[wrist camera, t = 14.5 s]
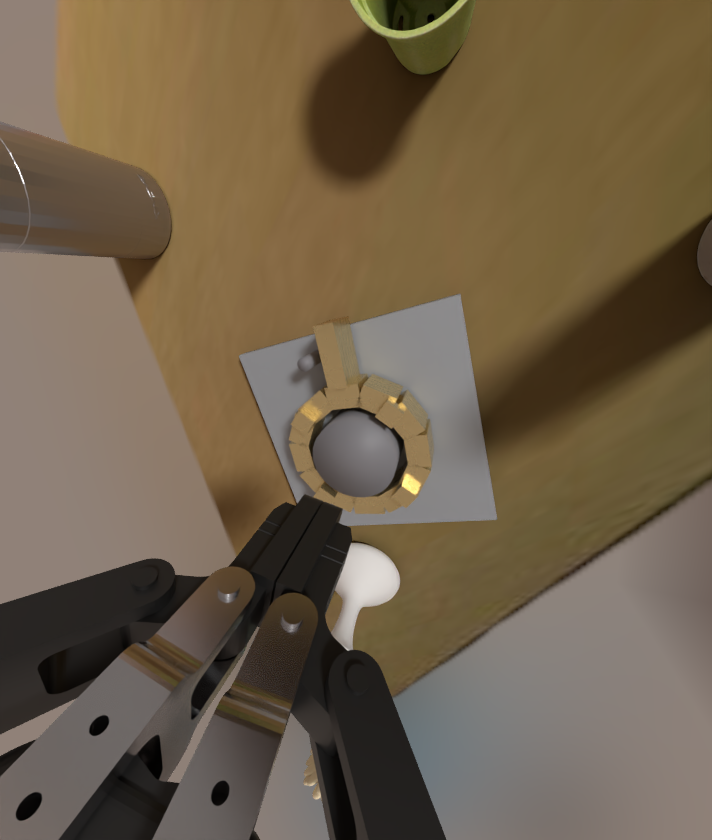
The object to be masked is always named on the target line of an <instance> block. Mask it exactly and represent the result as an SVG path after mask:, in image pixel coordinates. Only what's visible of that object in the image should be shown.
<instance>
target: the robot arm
mask: <svg viewBox="0 0 712 840" xmlns="http://www.w3.org/2000/svg"><path fill="white" fill-rule="evenodd" d="M170 233H171V217H170V211H169V207H168V204H167V201H166V198H165V196H164V194H163V192H162V190H161V189H160V187H159V186H158V184H157V183H156V181H155V180H154V179H153V178H152V177H151V176H150V175H149V174H148V173H146V172H145V171H143V170H142V169H140V168H137V167H135V166H132V165H129V164H126V163H123V162H120V161H117V160H114V159H111V158H108V157H105V156H102V155H99V154H96V153H93V152H90V151H87V150H84V149H81V148H78V147H75V146H72V145H69V144H66V143H63V142H60V141H57V140H54V139H51V138H48V137H45V136H42V135H39V134H36V133H33V132H30V131H27V130H24V129H21V128H18V127H15V126H12V125H9V124H6V123H3V122H0V252H16V253H38V254H58V255H78V256H98V257H116V258H136V259H151V258H154V257H157V256H159V255H160V254H161V253H162V252H163V251H164V249H165V248H166V246H167V244H168V241H169V239H170ZM342 511H343V508H340V507H337V506H335V505H332V504H330V503H327V502H323V501H322V500H319V499H317V498H314V497H312V496H309V495H306V494H304V495H303V496H302V498H301V499H300V501H299V502H298V503H297V505H296V506H294V505H292V504H289V503H287V502H286V503H284V504H282V505H280V506H279V507H277V508H275V509H274V510H273V511H272V512H271V514H270V515H269V516H268V517H267V519H266V521H265V522H263V524H262V525H261V526H260V528H259V530H257V531H256V533H255V534H254V535H253V537H252V538H251V539H250V540H249V542H248V543H247V544H246V546H245V547H244V548H243V549H242V551H241V552H240V553H239V555H238V556H237V557H236V558H235V560H234V561H233V562H232V563H231V564H230V566H228V567H225V568H222V569H219V570H217V571H215V572H214V573H213V574H211V575H210V576H207V577H194V576H182V575H175V571H174V569H173V567H172V565H171V564H170V563H169V562H167V561H165V560H162V559H146V560H142V561H139V562H135V563H132V564H129V565H126V566H122V567H119V568H116V569H113V570H109V571H106V572H103V573H100V574H96V575H94V576H90V577H87V578H84V579H81V580H77V581H74V582H71V583H67V584H64V585H61V586H58V587H54V588H51V589H48V590H45V591H42V592H38V593H35V594H32V595H29V596H25V597H23V598H19V599H16V600H13V601H10V602H6V603H3V604H0V734H2V733H4V732H6V731H8V730H10V729H12V728H15V727H16V726H19V725H21V724H23V723H25V722H27V721H29V720H31V719H34V718H35V717H37V716H40V715H42V714H44V713H46V712H48V711H50V710H53V709H55V708H57V707H59V706H61V705H63V704H65V703H67V702H69V701H71V700H74V699H76V698H77V699H76V700H75V701H74V702H73V703H72V704H71V705H70V706H69V707H68V708H67V709H66V710H65V711H64V712H63V713H62V714H61V715H60V716H59V717H58V718H57V719H56V720H55V721H54V722H53V723H52V725H50V726H49V728H48V729H47V730H46V731H45V732H44V733H43V734H42V735H41V736H40V737H39V738H38V739H36V740H33V741H31V742H29V743H26V744H24V745H21V746H19V747H17V748H15V749H13V750H11V751H9V752H7V753H5V754H3V755H1V756H0V840H260V839H259V837H258V835H257V834H256V832H255V831H254V827H255V825H256V821H257V818H258V815H259V812H260V808H261V805H262V802H263V799H264V795H265V793H266V789H267V786H268V783H269V779H270V776H271V773H272V770H273V767H274V763H275V760H276V757H277V754H278V751H279V747H280V744H281V741H282V738H283V735H284V732H285V728H286V725H287V722H288V718H289V716H290V712H291V713H292V714H293V715H294V716H295V718H296V719H297V720H298V721H299V722H300V724H301V725H302V726H303V727H304V728H305V730H306V731H307V732H308V733H309V736H310V742H311V748H312V753H313V758H314V763H315V768H316V773H317V778H318V783H319V788H320V793H321V798H322V803H323V808H324V813H325V818H326V823H327V828H328V833H329V838H330V840H446V837H445V835H444V832H443V830H442V827H441V824H440V822H439V819H438V817H437V814H436V812H435V809H434V806H433V804H432V801H431V798H430V796H429V793H428V791H427V788H426V785H425V783H424V780H423V778H422V775H421V772H420V770H419V767H418V764H417V762H416V759H415V757H414V754H413V751H412V749H411V746H410V744H409V741H408V738H407V736H406V733H405V730H404V728H403V725H402V723H401V720H400V718H399V715H398V712H397V710H396V707H395V704H394V702H393V699H392V696H391V694H390V691H389V689H388V686H387V683H386V681H385V678H384V676H383V673H382V671H381V669H380V667H379V665H378V664H377V662H376V661H375V660H374V659H373V658H372V657H371V656H370V655H368V654H367V653H365V652H362V651H359V650H349V651H347V650H346V649H345V648H344V647H343V646H342V645H341V644H340V643H339V642H338V641H337V640H336V639H335V638H334V637H333V635H332V634H331V632H330V631H329V629H328V627H327V623H326V619H325V614H326V611H327V609H328V606H329V604H330V601H331V598H332V596H333V593H334V591H335V588H336V586H337V583H338V580H339V578H340V575H341V573H342V570H343V567H344V564H345V561H346V558H347V555H348V552H349V548H350V545H351V542H352V536H351V528H350V527H347V526H345V525H342V524H340V523H339V522H340V518H341V515H342ZM257 626H258V627H260V628H259V630H258V632H257V634H256V636H255V638H254V641H253V642H252V645H251V647H250V649H249V651H248V653H247V655H246V657H245V659H244V661H243V664H242V666H241V668H240V670H239V672H238V674H237V676H236V678H235V680H234V683H233V684H232V686H231V688H230V689H229V691H227V692H226V693H225V694H224V695H223V697H222V699H221V700H220V702H219V704H218V706H217V708H216V710H215V712H214V714H213V716H212V718H211V720H210V722H209V724H208V726H207V728H206V730H205V732H204V734H203V736H202V738H201V740H200V743H199V744H198V746H197V749H196V751H195V753H194V755H193V757H192V759H191V761H190V763H189V765H188V767H187V769H186V771H185V773H184V775H183V777H182V779H181V782H180V783H174V782H167V781H168V779H169V777H170V776H171V774H172V773H173V771H174V770H175V768H176V766H177V765H178V763H179V762H180V760H181V758H182V757H183V755H184V753H185V751H186V749H187V747H188V745H189V743H190V740H191V738H192V735H193V733H194V731H195V729H196V727H197V725H198V723H199V722H200V720H201V718H202V716H203V715H204V714H205V712H206V710H207V709H208V707H209V706H210V705H211V703H212V701H213V700H214V698H215V697H216V695H217V694H218V692H219V691H220V689H221V688H222V686H223V685H224V683H225V681H226V680H227V678H228V677H229V675H230V674H231V672H232V671H233V669H234V668H235V666H236V664H237V663H238V661H239V660H240V658H241V657H242V655H243V654H244V651H245V649H246V647H247V643H248V642H249V640H250V638H251V636H252V635H253V633H254V631H255V629H256V627H257Z"/></svg>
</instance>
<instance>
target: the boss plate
mask: <svg viewBox="0 0 712 840" xmlns="http://www.w3.org/2000/svg"><path fill="white" fill-rule="evenodd" d="M350 327H351V332H352V337H353V342H354V347H355V351H356V356H357V361H358V366H359V371H360V374H366V373H367V374H368V378H369V377H370V376H371V375H372V374H374V375H376V376H379V377H381V378H384V379H386V380H389V381H391V382H394V383H396V384H399V385H401V386H403V388H402V391H401V393H400V395H401V394H402V393H403V392H405V391H406V390H407V389H408V390H409V392H410V393H411V394H412V395H413V397H414V398H415V399H416V400H417V402H418V403H419V404H420V405H421V406H422V408H423V409H424V410H425V411H426V413H427V414H428V418H427V419H430V421H431V428H432V436H433V443H434V454H433V461H432V467H431V472H430V474H429V476H428V478H427V480H426V482H425V484H424V485H423V487H422V489H421V491H420V493H419V495H418V497H417V498H416V499H415V500H414V501H413V502H412V503H411V504H410V505H409V506H408V507H407V508H405V507H403V506H402V507H400V508H398V509H396V510H394V511H392V512H390V513H389V512H388V511H387V510H386V512H385V514H355V510H354V507H353V509H352V511H351V513H350V512H348V511H346V510H344V509H343V511H342V515H341V518H340V522H339V523H340V524H342V525H345V526H355V525H379V524H404V523H428V522H453V521H478V520H497V515H496V509H495V503H494V497H493V491H492V485H491V479H490V473H489V466H488V460H487V454H486V448H485V442H484V436H483V430H482V424H481V418H480V412H479V406H478V399H477V393H476V387H475V381H474V375H473V369H472V363H471V357H470V351H469V345H468V338H467V332H466V326H465V320H464V314H463V308H462V302H461V296H460V294H457V295H453V296H449V297H446V298H442V299H439V300H435V301H431V302H428V303H424V304H420V305H417V306H413V307H410V308H406V309H402V310H399V311H395V312H392V313H388V314H384V315H381V316H377V317H373V318H370V319H366V320H363V321H359V322H355V323H352V324H350ZM239 358H240V360H241V363H242V365H243V368H244V370H245V373H246V375H247V378H248V380H249V383H250V385H251V388H252V391H253V393H254V396H255V398H256V401H257V403H258V406H259V408H260V411H261V413H262V416H263V418H264V421H265V423H266V426H267V428H268V431H269V433H270V436H271V438H272V441H273V443H274V446H275V449H276V451H277V454H278V456H279V459H280V461H281V464H282V466H283V469H284V471H285V474H286V476H287V479H288V481H289V484H290V486H291V489H292V491H293V494H294V496H295V499H296V501H297V503H298V502H299V501H300V499H301V498H302V496H303V495H304V494H306V495H309V496H312V497H313V496H314V495H315V492H314V491H313V490H312V489H311V488H310V486H309V485H308V484H307V483H306V482H305V481H304V480H303V479H302V478H301V477H300V476H299V475H300V474H301V473H302V472H303V471H300V472H297V469H296V466H295V463H294V460H293V456H292V453H291V450H290V447H289V444H290V443H291V442H292V441H290V440H289V437H290V433H291V429H292V425H291V423H292V421H293V420H294V416H295V413H296V412H297V411H298V409H299V408H300V407H301V406H302V405H303V404H304V403H306V402H307V401H308V400H309V399H310V398H311V397H313V396H314V395H315V394H316V393H317V392H318V391H320V390H321V389H322V388H323V387H324V386H325V385H327V383H326V379H325V374H324V370H323V366H322V362H321V358H320V354H319V350H318V346H317V342H316V338H315V334H312V335H308V336H305V337H301V338H298V339H294V340H290V341H287V342H283V343H280V344H276V345H272V346H269V347H265V348H261V349H258V350H254V351H251V352H247V353H244V354H241V355H239ZM375 416H376V414H374V413H372V412H369V411H367V410H365V409H362V408H360V407H356V408H346V409H336V410H332V411H331V412H330V413H328V414H327V415H326V417H325V421H324V424H323V427H322V432H321V433H320V434H319V435H318V437H317V438H316V440H315V443H314V446H313V461H314V465H315V467H316V470H317V472H318V473H319V475H320V476H321V478H322V479H323V480H324V481H325V482H326V483H327V484H328V485H329V486H330V487H332V488H333V489H335V490H336V491H338V492H340V493H342V494H345V495H348V496H352V497H369V496H373V495H376V494H378V493H380V492H382V491H383V490H384V489H386V488H387V487H388V485H389V484H390V483H391V481H392V479H393V477H394V474H395V471H396V470H398V469H400V468H401V467H403V466H404V464H405V462H406V460H407V456H406V450H405V444H404V439H403V438H402V437H401V436H400V435H399V434H398V432H397V431H396V430H395V429H394V428H392V429H391V428H390V427H388V426H387V425H385V424H384V423H383V422H381V421H380V420H379V419H377V418H376V417H375ZM330 504H331V503H330ZM332 505H333V504H332Z"/></svg>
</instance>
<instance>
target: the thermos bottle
mask: <svg viewBox="0 0 712 840" xmlns="http://www.w3.org/2000/svg"><path fill="white" fill-rule="evenodd" d="M697 262H698V268H699V270H700V273H701V275H702V276H703V278H704V279H705V280H706V281H707V283H709V284H710V285H712V220H711V221H710V222H709V224H708V225H707V227H706V229H705V231H704V233H703V234H702V237H701V240H700V243H699V246H698V252H697Z"/></svg>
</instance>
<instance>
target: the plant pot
mask: <svg viewBox="0 0 712 840" xmlns="http://www.w3.org/2000/svg"><path fill="white" fill-rule="evenodd" d="M350 2H351V4H352V6H353V8H354V10H355V12H356V13H357V15H358V16H359V17H360V19H361V20H362V21H363V22H364V24H365V25H366V26H367V27H368V28H370V29H371V30H372V31H373V32H375V33H377V34H378V35H380V36H382V37H384V38H386V40H387V42H388V43H389V45H390V46H391V48H392V50H393V52H394V53H395V55H396V57H397V58H398V60H399V61H400V63H401V64H402V65H403V66H404V67H405V68H407V69H408V70H409V71H411V72H413V73H416V74H430V73H433V72H436V71H438V70H440V69H442V68H443V67H444V66H446V65H447V64H448V63H449V62H450V61H451V59H452V58H453V57H454V55H455V54H456V53H457V51H458V50H459V49H460V47H461V46H462V44H463V42H464V41H465V39H466V36H467V34H468V31H469V28H470V24H471V19H472V15H473V11H474V6H475V2H476V0H350ZM430 14H433V15H434V20H433V22H431V23H429V22H427V18H428V16H429V15H430ZM401 16H403V27H402V31H398V23H399V19H400V17H401Z"/></svg>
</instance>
